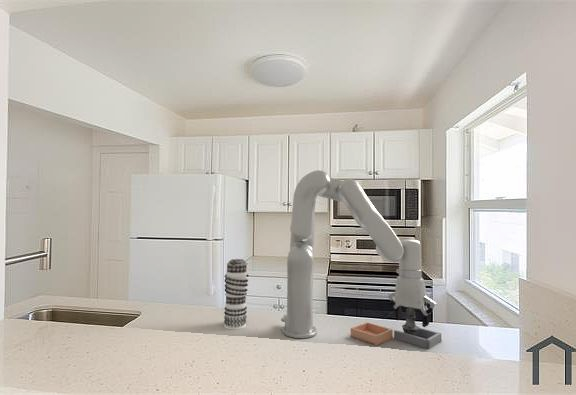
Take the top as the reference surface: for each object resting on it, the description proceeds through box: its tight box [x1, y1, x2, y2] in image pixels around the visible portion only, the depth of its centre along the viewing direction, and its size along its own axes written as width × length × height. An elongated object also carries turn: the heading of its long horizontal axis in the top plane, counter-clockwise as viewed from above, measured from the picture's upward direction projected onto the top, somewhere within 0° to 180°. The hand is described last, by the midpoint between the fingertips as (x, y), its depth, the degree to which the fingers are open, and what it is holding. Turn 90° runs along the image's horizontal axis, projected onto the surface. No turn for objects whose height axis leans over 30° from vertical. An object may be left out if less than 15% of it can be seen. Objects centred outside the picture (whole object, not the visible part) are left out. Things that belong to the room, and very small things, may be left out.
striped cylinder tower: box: [223, 258, 249, 331], centre depth 120 cm, size 9×9×25 cm
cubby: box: [393, 326, 442, 350], centre depth 109 cm, size 12×10×2 cm
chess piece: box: [401, 307, 421, 336], centre depth 111 cm, size 6×6×12 cm
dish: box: [350, 321, 394, 347], centre depth 110 cm, size 10×10×3 cm
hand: (411, 322), depth 111 cm, fingers open, 9 cm apart
